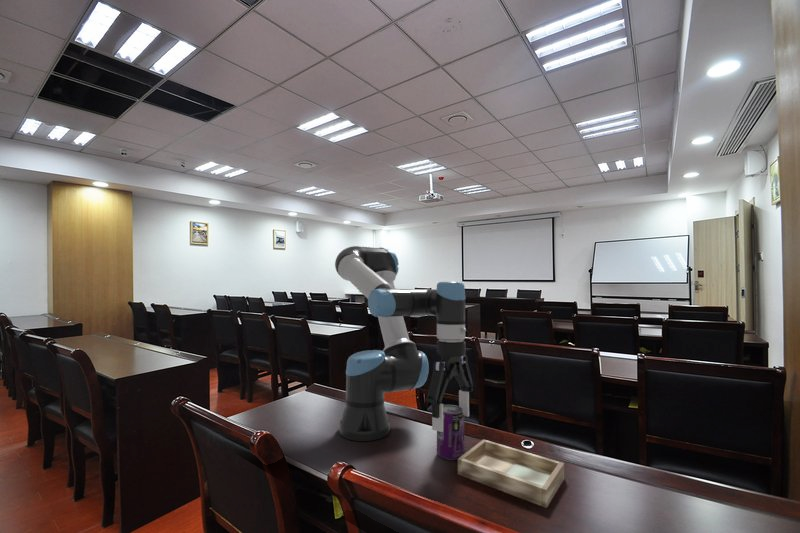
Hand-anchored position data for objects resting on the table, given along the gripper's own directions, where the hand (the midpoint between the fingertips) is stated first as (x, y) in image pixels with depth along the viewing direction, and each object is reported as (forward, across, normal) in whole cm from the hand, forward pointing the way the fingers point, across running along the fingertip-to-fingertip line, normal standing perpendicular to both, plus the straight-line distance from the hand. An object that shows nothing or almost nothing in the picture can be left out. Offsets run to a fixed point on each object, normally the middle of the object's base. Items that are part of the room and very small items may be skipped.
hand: (451, 422), depth 92 cm
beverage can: (+9, 0, +1) cm, 9 cm away
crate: (+9, 0, -15) cm, 18 cm away
